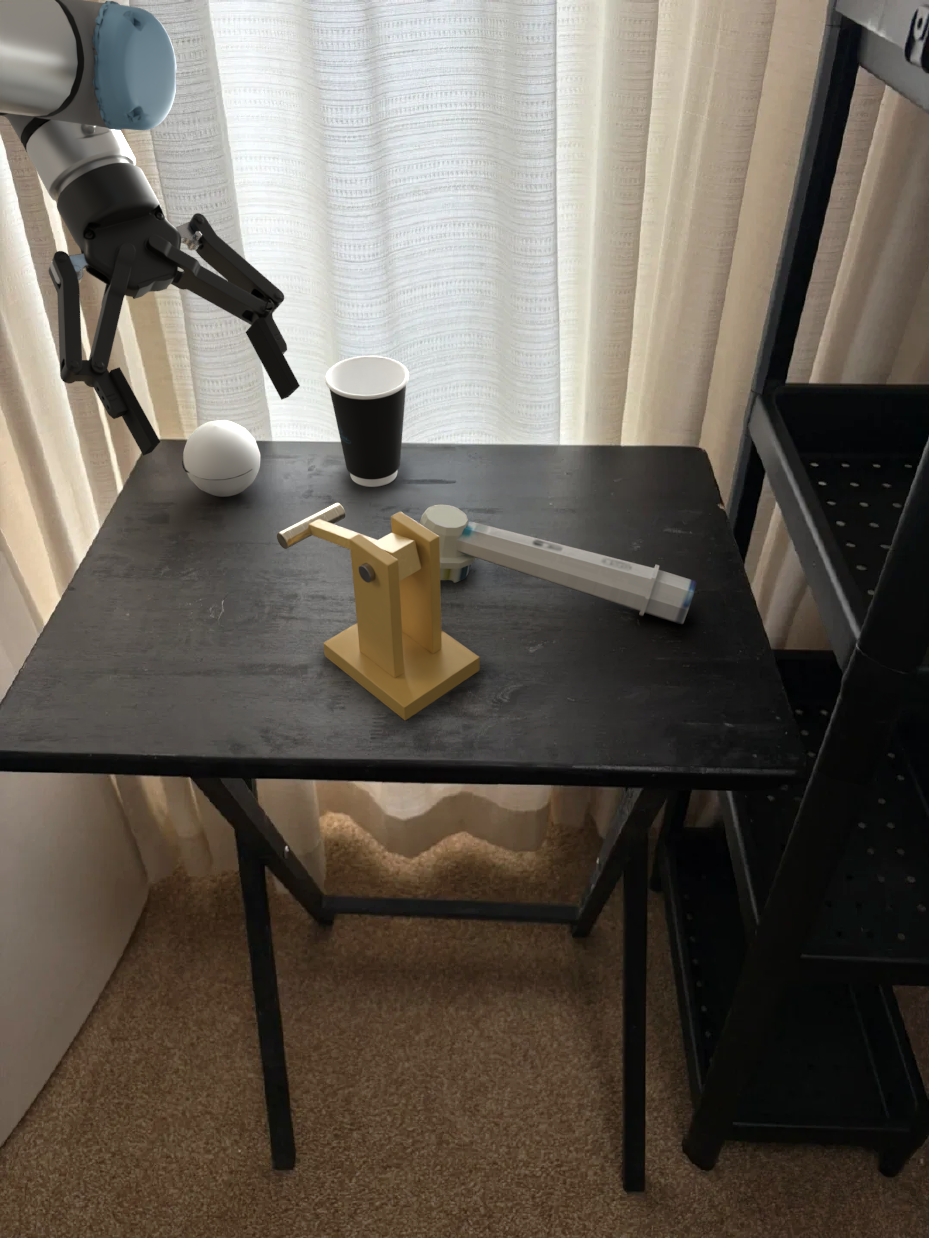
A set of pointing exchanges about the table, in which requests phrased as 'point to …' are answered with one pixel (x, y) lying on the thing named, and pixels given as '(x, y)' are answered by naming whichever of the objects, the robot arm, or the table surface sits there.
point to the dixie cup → (369, 415)
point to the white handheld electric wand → (557, 565)
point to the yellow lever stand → (400, 626)
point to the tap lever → (326, 530)
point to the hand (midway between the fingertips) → (224, 420)
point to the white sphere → (221, 458)
